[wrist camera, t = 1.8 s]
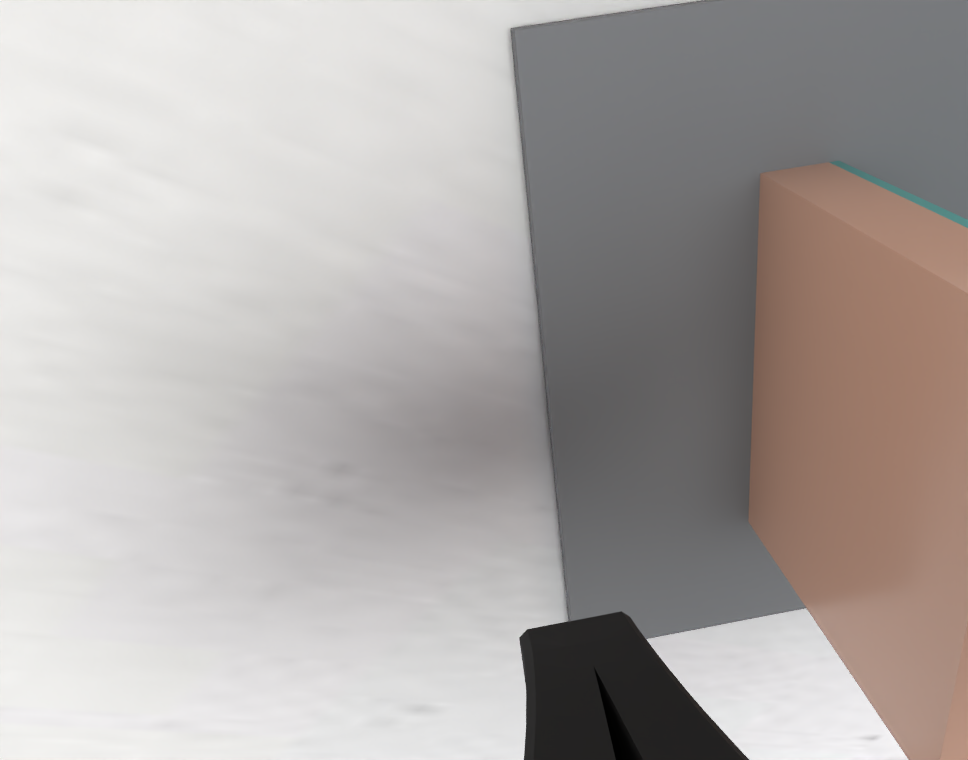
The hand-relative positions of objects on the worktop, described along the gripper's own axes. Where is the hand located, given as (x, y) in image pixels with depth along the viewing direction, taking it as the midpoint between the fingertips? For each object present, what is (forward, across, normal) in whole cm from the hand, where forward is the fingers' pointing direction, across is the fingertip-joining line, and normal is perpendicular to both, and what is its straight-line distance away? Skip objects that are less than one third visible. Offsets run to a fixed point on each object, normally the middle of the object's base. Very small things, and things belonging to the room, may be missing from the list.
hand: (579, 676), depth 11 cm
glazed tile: (+7, -6, 0) cm, 9 cm away
